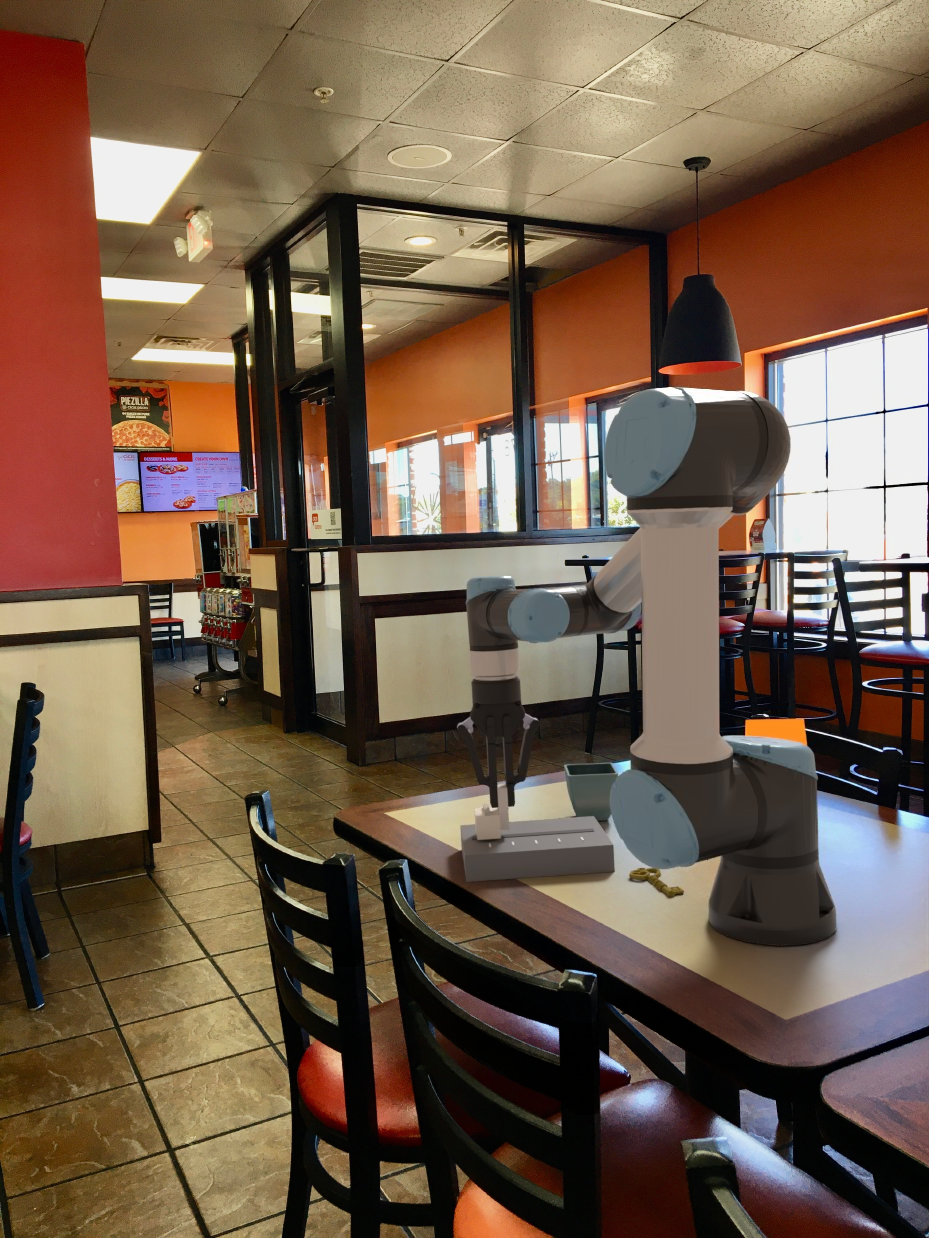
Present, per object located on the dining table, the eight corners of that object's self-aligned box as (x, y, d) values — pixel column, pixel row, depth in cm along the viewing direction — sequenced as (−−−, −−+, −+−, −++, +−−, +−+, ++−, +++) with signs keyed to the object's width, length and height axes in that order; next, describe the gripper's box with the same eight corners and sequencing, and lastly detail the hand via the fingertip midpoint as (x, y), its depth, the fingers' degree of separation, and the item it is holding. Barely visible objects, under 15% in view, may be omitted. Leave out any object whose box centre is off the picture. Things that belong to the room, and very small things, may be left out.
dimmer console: (614, 871, 141) (613, 844, 141) (466, 881, 140) (464, 854, 140) (595, 839, 157) (593, 815, 157) (461, 849, 156) (460, 824, 156)
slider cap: (500, 838, 146) (499, 811, 146) (477, 839, 146) (475, 812, 145) (498, 829, 151) (496, 802, 151) (475, 830, 151) (474, 804, 150)
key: (686, 888, 130) (652, 892, 129) (687, 897, 130) (652, 901, 129) (654, 863, 142) (621, 867, 141) (654, 871, 142) (622, 876, 141)
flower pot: (621, 823, 166) (618, 772, 165) (570, 826, 166) (567, 775, 165) (614, 810, 175) (612, 761, 174) (566, 812, 175) (563, 764, 174)
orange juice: (813, 854, 144) (808, 723, 142) (752, 854, 145) (746, 724, 144) (805, 839, 151) (800, 714, 150) (747, 839, 153) (742, 715, 152)
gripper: (534, 671, 151) (542, 818, 152) (452, 676, 150) (461, 823, 152) (540, 676, 143) (548, 831, 145) (453, 682, 143) (463, 837, 144)
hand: (503, 827), depth 148 cm, fingers closed
